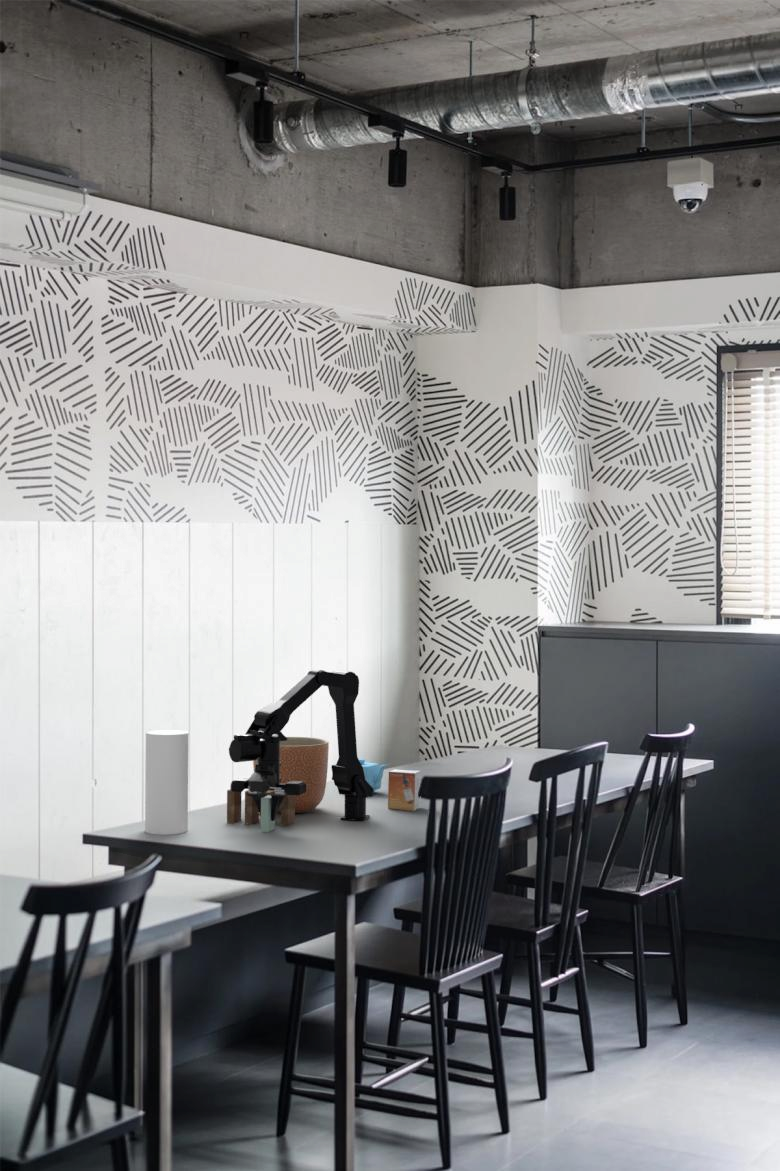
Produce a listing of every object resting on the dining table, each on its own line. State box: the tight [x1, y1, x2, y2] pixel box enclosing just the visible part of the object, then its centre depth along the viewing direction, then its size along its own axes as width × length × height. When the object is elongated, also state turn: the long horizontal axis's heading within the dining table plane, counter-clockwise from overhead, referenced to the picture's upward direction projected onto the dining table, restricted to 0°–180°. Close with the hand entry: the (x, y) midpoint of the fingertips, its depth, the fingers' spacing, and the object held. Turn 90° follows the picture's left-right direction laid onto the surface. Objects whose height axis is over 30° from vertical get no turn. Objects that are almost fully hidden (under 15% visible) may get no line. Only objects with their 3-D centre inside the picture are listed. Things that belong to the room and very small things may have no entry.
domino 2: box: [244, 789, 260, 825], centre depth 375 cm, size 2×5×8 cm, turn 164°
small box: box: [387, 768, 422, 811], centre depth 399 cm, size 8×6×10 cm
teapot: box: [358, 758, 388, 794], centre depth 426 cm, size 18×14×10 cm
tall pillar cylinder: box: [144, 729, 189, 836], centre depth 362 cm, size 11×11×25 cm
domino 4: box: [260, 795, 276, 833], centre depth 365 cm, size 2×5×8 cm, turn 164°
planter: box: [252, 736, 330, 814], centre depth 395 cm, size 21×21×19 cm
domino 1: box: [226, 788, 242, 824], centre depth 377 cm, size 2×5×8 cm, turn 164°
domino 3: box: [266, 790, 278, 824], centre depth 374 cm, size 2×5×8 cm, turn 164°
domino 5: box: [280, 795, 296, 827], centre depth 373 cm, size 2×5×8 cm, turn 164°
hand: (268, 820), depth 365 cm, fingers open, 2 cm apart
